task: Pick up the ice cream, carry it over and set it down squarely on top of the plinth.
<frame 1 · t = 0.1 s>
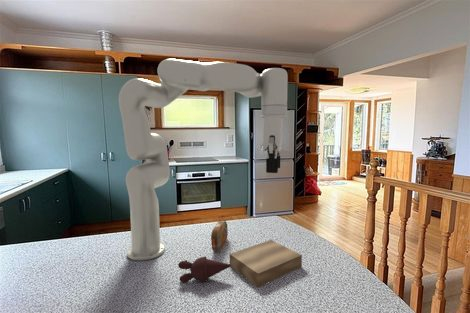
hand: (273, 170, 76), 31 cm above the countertop, tool pointing down, fingers open, 9 cm apart
base: (265, 266, 80), on the countertop
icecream: (204, 280, 73), on the countertop
tin: (219, 246, 95), on the countertop
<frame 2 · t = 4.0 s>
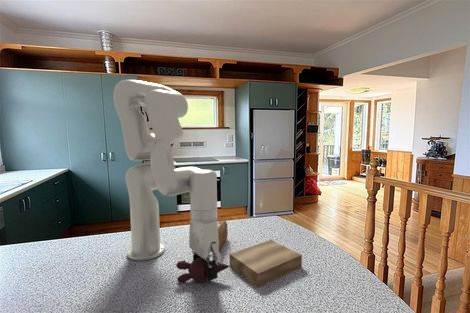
hand: (204, 272, 73), 2 cm above the countertop, tool pointing down, fingers closed on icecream, 7 cm apart
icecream: (202, 280, 73), on the countertop, touching gripper
everything else where it was.
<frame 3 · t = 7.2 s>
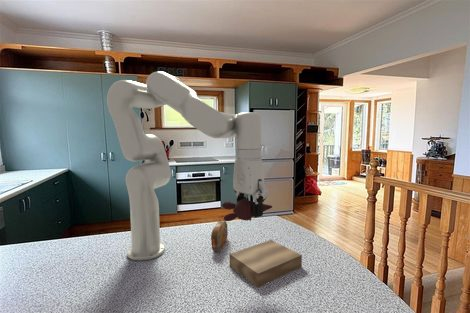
hand: (249, 212, 76), 18 cm above the countertop, tool pointing down, fingers closed on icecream, 7 cm apart
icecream: (247, 220, 76), point 16 cm above the countertop, touching gripper
everything else where it was.
when the fingers open (7 cm above the countertop, at t = 10.2 s): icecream drops 1 cm, resting on base.
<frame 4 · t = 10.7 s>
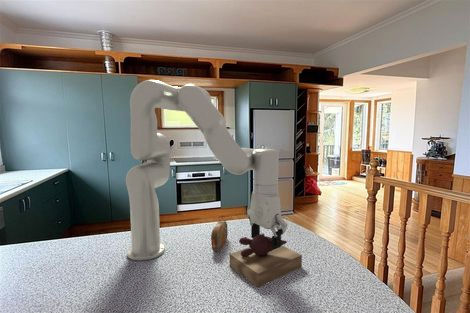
hand: (265, 242, 79), 8 cm above the countertop, tool pointing down, fingers open, 9 cm apart
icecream: (262, 255, 80), point 4 cm above the countertop, touching base
everything else where it was.
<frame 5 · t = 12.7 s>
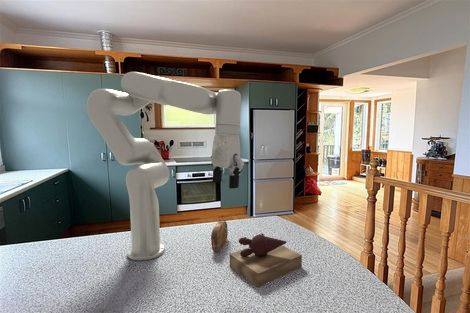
hand: (224, 184, 81), 26 cm above the countertop, tool pointing down, fingers open, 9 cm apart
nothing on the countertop moved.
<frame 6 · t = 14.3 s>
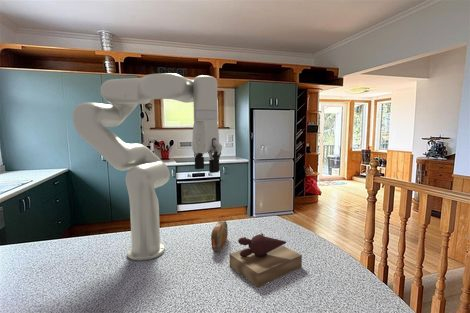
hand: (206, 170, 81), 30 cm above the countertop, tool pointing down, fingers open, 9 cm apart
nothing on the countertop moved.
at the end: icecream inside the target area on the base (1.2 cm from its centre), point 3.8 cm above the base's base; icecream touching base; the gripper is holding nothing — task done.
